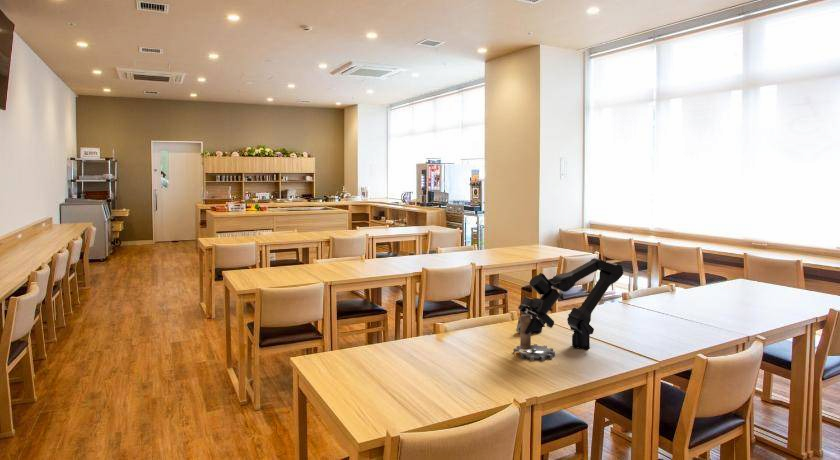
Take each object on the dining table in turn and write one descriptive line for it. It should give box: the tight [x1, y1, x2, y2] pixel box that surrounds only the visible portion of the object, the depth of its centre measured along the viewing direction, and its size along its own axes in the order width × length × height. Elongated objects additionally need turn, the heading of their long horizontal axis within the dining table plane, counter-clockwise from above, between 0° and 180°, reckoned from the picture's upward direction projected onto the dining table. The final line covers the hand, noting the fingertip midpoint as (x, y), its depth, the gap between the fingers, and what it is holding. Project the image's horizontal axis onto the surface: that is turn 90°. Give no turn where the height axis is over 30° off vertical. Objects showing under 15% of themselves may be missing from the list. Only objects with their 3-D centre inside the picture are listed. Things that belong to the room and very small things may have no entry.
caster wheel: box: [515, 316, 543, 333], centre depth 242 cm, size 7×11×10 cm
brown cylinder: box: [519, 314, 532, 350], centre depth 210 cm, size 4×4×13 cm
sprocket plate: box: [513, 343, 556, 362], centre depth 211 cm, size 16×16×2 cm
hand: (522, 332), depth 209 cm, fingers closed on brown cylinder, 4 cm apart
